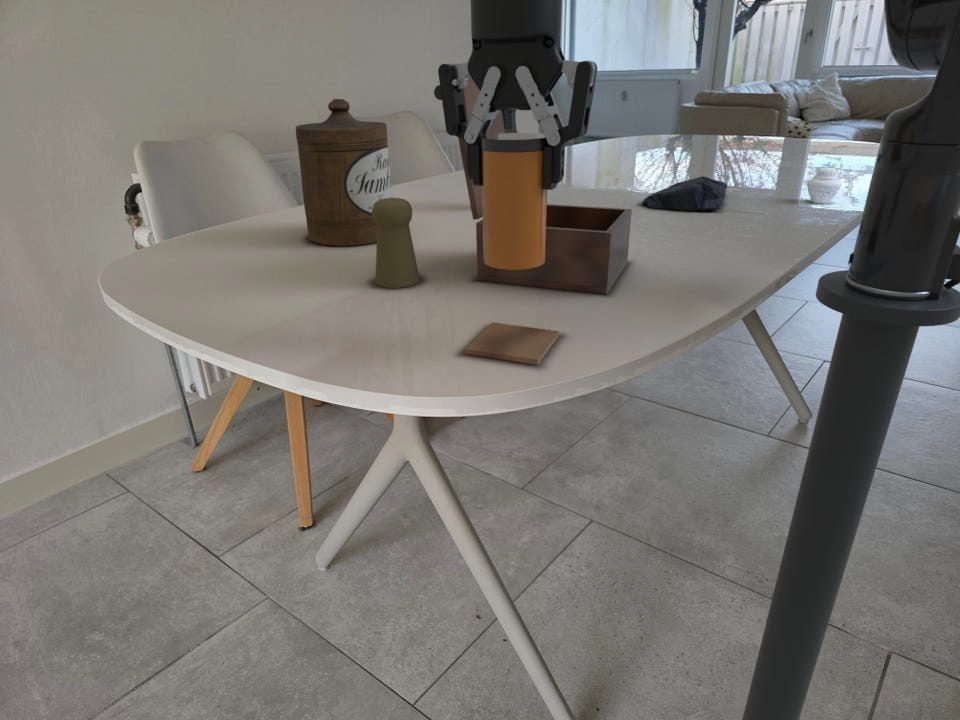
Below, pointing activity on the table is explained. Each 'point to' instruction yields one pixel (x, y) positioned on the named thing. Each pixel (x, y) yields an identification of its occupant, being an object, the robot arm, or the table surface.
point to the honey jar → (514, 200)
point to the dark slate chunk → (689, 195)
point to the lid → (495, 128)
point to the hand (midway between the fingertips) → (515, 185)
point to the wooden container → (343, 176)
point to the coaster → (513, 343)
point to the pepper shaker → (394, 244)
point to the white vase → (823, 186)
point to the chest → (572, 250)
